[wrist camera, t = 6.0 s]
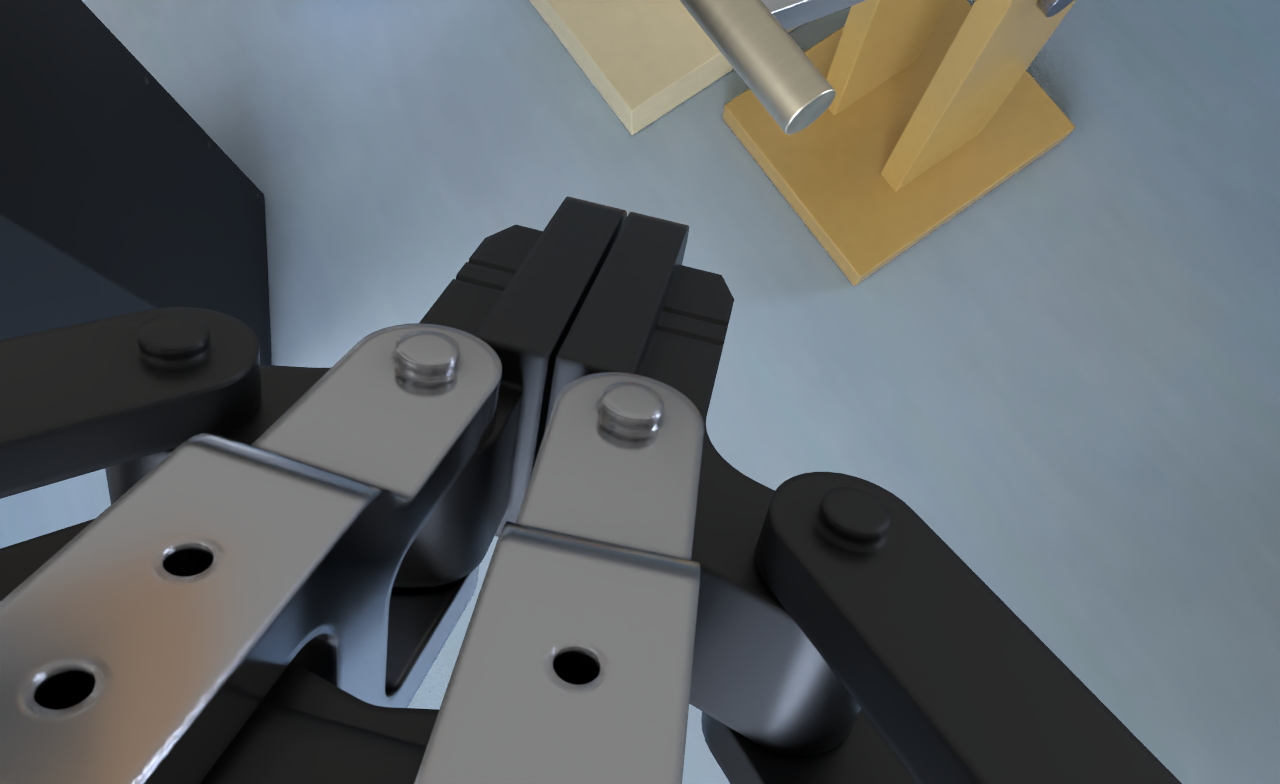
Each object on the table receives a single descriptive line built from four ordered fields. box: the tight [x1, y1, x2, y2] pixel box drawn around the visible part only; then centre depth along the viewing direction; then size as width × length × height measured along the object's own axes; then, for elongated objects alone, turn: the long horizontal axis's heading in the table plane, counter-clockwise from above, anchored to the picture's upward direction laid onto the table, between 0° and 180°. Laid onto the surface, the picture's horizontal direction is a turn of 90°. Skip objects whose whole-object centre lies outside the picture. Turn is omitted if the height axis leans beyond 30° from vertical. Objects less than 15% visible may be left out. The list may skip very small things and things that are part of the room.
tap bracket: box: [723, 0, 1076, 286], centre depth 35 cm, size 11×9×15 cm
